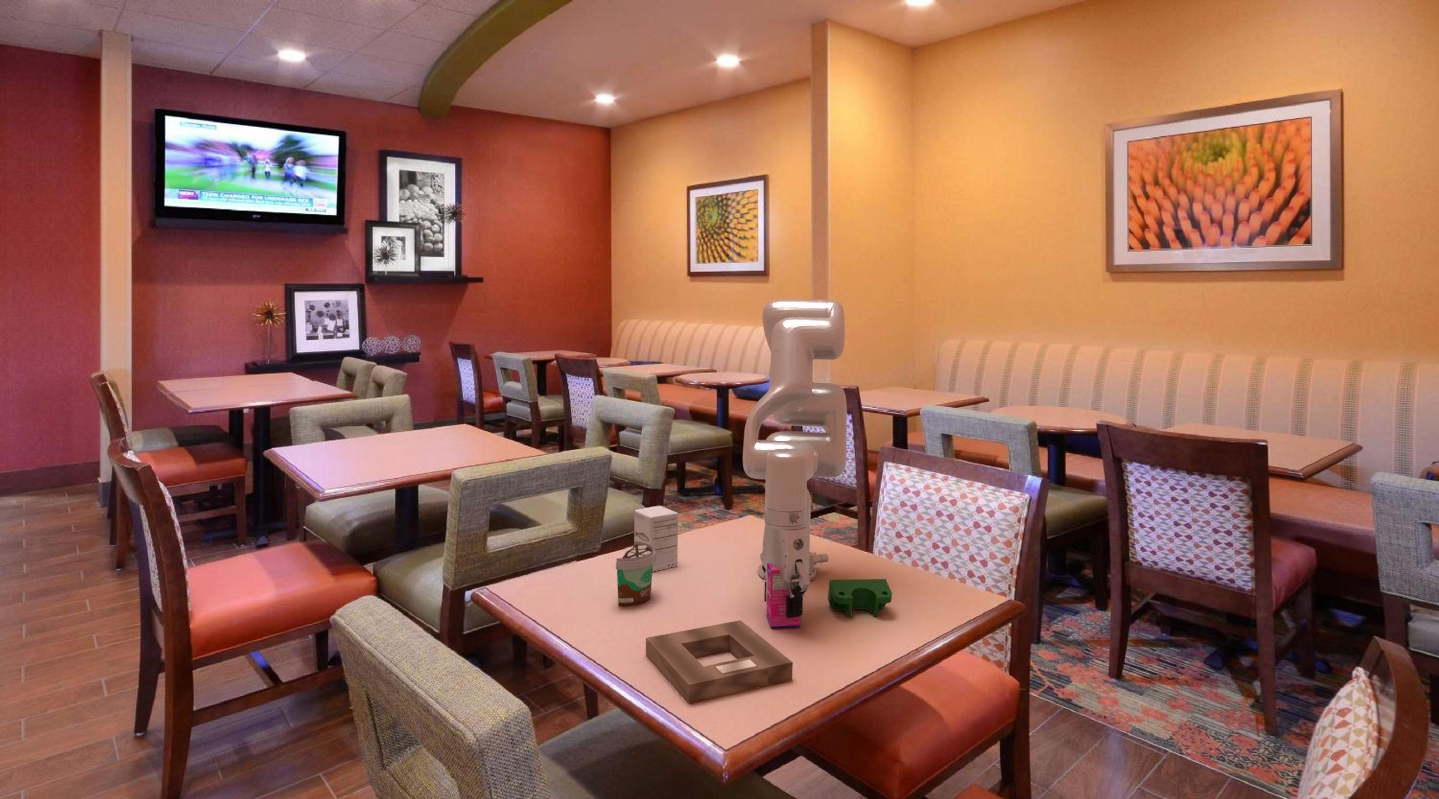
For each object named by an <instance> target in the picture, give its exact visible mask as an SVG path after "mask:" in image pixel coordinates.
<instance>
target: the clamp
mask: <svg viewBox="0 0 1439 799" xmlns="http://www.w3.org/2000/svg"><path fill="white" fill-rule="evenodd" d="M827 591H828V593H827V594H828V595H827V600H828V604H829V607H830V609H832V610H845V613H846V616H847V618H852V613H853V610H866V611H867V610H868V611H869V612H870V613H872V614H873V618H877V617H878V612H879V610H881V609H883V608H885V607H886V605H887V604H889V603H891V602H892V598H893V592H892V590H891V588H890V585H889V583H888V581H887V579H885V578H872V579H870V578H862V579H861V578H858V579H857V578H856V579H829V582H828V590H827Z"/></svg>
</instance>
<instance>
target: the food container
mask: <svg viewBox="0 0 1439 799" xmlns="http://www.w3.org/2000/svg"><path fill="white" fill-rule="evenodd" d="M656 559H657V558H656V553H655V550H654V548H653V546H652V545H650V544H648V543H645V542H640V541H633V546H632V548H630V549H628V550H627V551H626V552H625V553H624V554H623V556H622V557H619V558H618V557H616V562H615V570H616V576H617V577H616V578H617V579H616V580H617V581H616V582H617V604H618V605H617V607H634V605H635V606H640V605H643V604H646V603H648V602H649V601H650V600H651V596H652V595H651V594H652V583H653V582H652V580H653V572H652V570H653V563H654V562H655V561H656ZM642 603H643V604H642ZM639 604H640V605H639Z"/></svg>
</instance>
